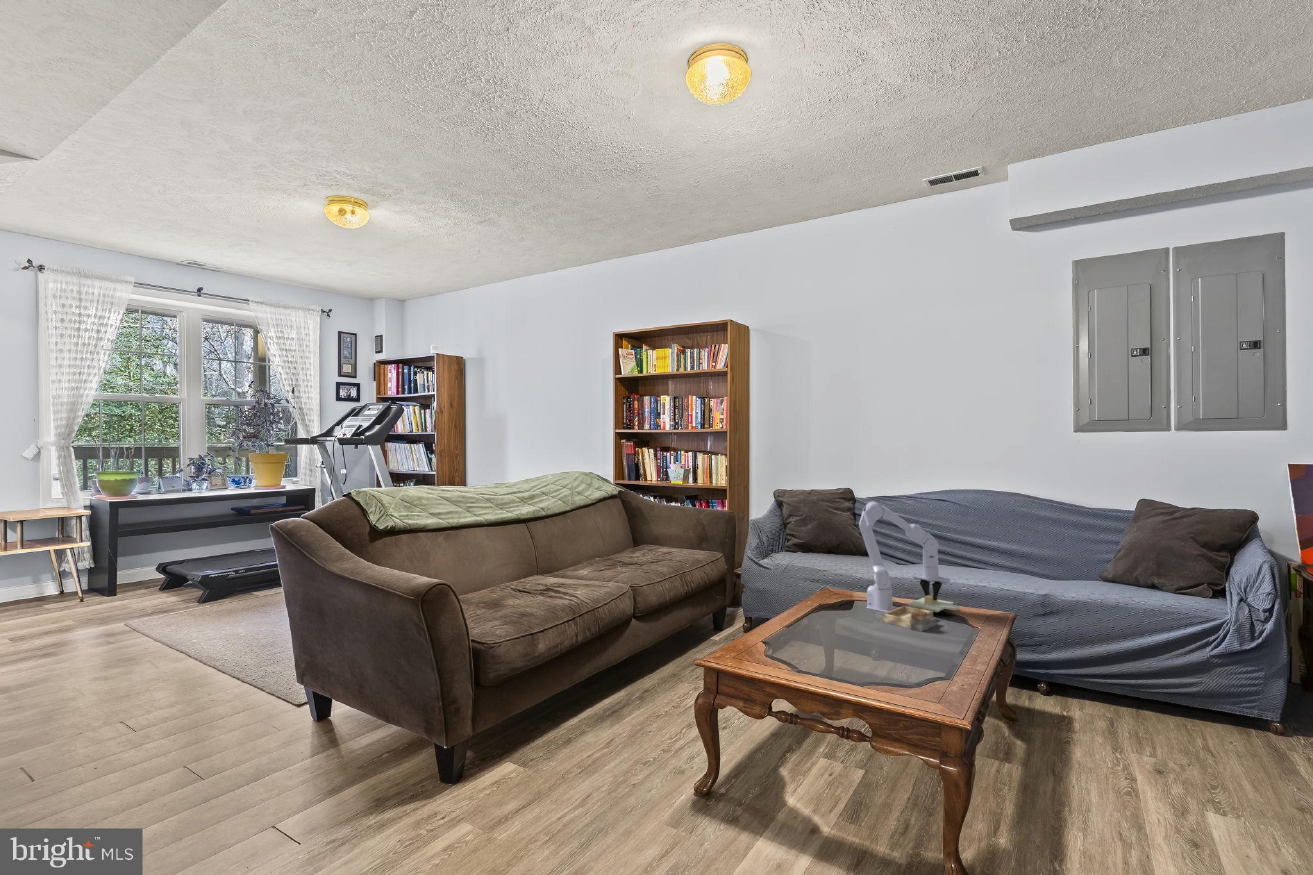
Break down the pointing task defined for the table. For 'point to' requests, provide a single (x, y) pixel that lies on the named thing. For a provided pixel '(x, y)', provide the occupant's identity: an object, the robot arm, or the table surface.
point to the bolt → (919, 615)
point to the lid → (932, 604)
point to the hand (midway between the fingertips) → (931, 599)
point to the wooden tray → (909, 618)
